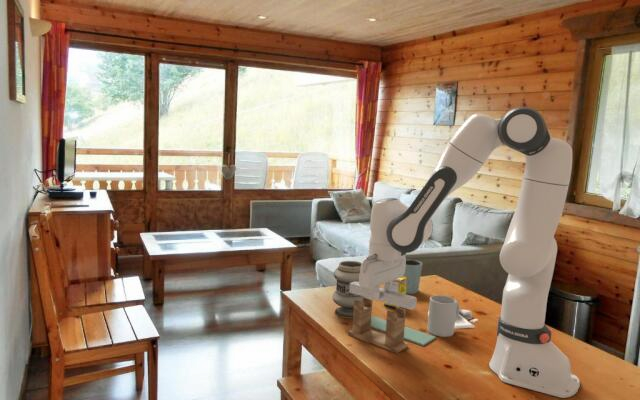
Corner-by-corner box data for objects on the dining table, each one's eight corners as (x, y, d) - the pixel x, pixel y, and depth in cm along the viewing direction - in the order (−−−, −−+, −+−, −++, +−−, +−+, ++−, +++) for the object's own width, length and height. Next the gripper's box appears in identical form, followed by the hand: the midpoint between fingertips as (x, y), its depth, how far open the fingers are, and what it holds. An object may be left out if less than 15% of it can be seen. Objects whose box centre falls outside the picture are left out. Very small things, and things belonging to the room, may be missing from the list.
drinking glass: (395, 292, 197) (397, 263, 195) (395, 285, 206) (397, 257, 205) (420, 295, 195) (423, 266, 193) (419, 287, 205) (422, 259, 203)
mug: (441, 339, 154) (444, 305, 152) (421, 329, 161) (424, 297, 159) (466, 332, 160) (469, 299, 159) (447, 323, 167) (449, 292, 166)
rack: (407, 347, 146) (410, 310, 145) (397, 353, 142) (400, 315, 140) (359, 329, 158) (361, 295, 156) (347, 334, 153) (349, 299, 152)
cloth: (467, 334, 159) (468, 316, 158) (416, 318, 171) (418, 301, 170) (493, 317, 176) (494, 301, 175) (445, 304, 188) (447, 288, 187)
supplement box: (405, 305, 183) (407, 277, 181) (398, 309, 178) (400, 280, 176) (390, 301, 186) (392, 273, 184) (383, 306, 181) (385, 277, 179)
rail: (416, 307, 142) (416, 297, 142) (410, 309, 140) (411, 299, 139) (354, 290, 156) (355, 281, 156) (349, 292, 154) (349, 283, 153)
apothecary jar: (325, 309, 174) (327, 260, 171) (353, 305, 180) (355, 257, 177) (343, 321, 163) (346, 269, 161) (372, 316, 170) (376, 266, 167)
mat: (435, 338, 154) (435, 336, 154) (423, 346, 148) (423, 344, 147) (372, 317, 169) (372, 315, 169) (358, 323, 163) (358, 321, 163)
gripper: (372, 259, 136) (370, 307, 138) (410, 248, 152) (407, 291, 153) (354, 255, 140) (352, 302, 142) (392, 245, 156) (390, 287, 157)
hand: (381, 296), depth 148 cm, fingers closed on rail, 3 cm apart
